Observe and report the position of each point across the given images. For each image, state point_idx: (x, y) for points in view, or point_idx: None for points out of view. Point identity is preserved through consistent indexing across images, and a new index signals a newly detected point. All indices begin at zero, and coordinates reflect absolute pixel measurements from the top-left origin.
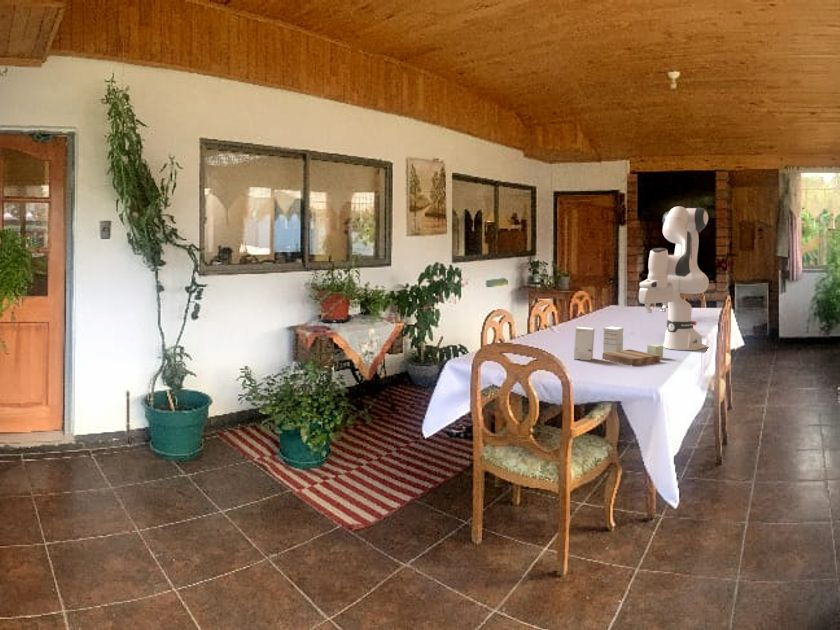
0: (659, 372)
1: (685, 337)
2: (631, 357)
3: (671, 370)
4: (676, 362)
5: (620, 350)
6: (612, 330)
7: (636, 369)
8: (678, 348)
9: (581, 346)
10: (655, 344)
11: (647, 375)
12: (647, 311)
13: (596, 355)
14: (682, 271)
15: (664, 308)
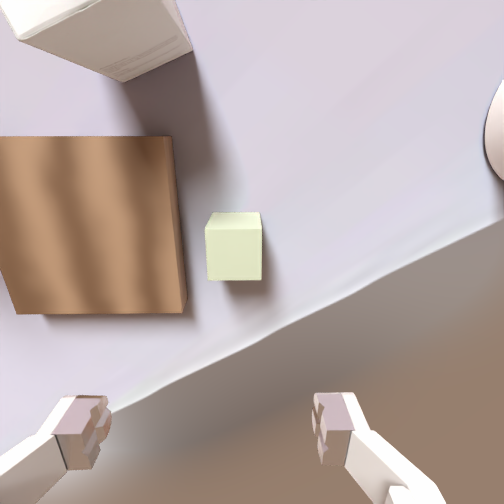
0: None
1: None
2: (36, 288)
3: (120, 396)
4: (235, 331)
5: (156, 62)
6: None
7: (18, 343)
8: (497, 163)
9: None
10: (258, 236)
11: (2, 406)
12: (59, 416)
13: (3, 27)
14: None
15: (336, 462)
